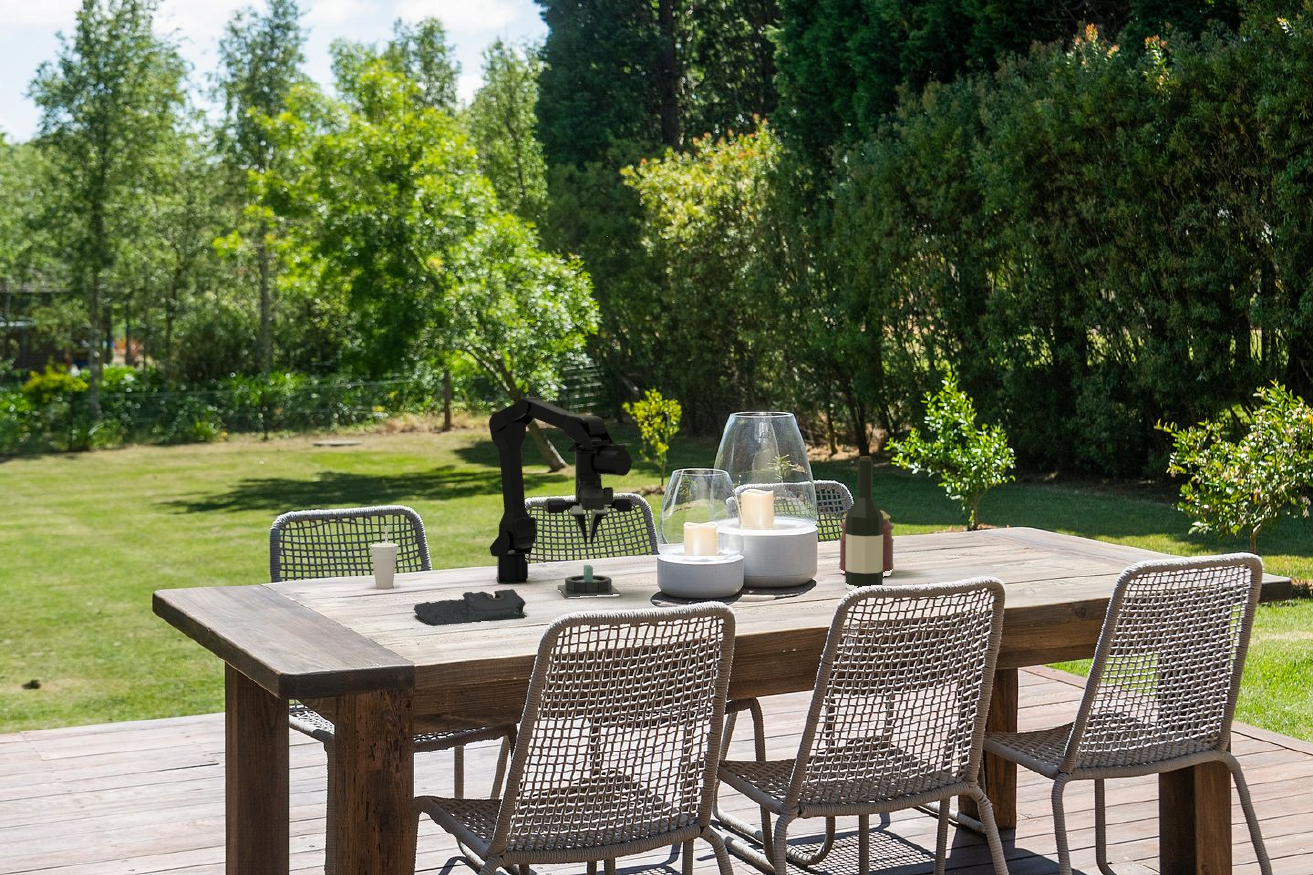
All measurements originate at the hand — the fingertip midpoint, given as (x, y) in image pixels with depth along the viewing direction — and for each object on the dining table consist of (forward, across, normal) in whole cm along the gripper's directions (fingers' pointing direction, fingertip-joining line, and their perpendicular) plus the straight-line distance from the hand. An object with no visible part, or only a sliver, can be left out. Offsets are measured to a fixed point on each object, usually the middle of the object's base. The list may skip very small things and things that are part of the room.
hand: (588, 543), depth 294 cm
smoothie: (+11, -44, +17) cm, 49 cm away
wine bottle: (+11, +62, -7) cm, 63 cm away
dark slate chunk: (+12, -28, -20) cm, 36 cm away
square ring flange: (+11, 0, 0) cm, 11 cm away
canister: (+11, +70, +12) cm, 72 cm away
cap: (+10, 0, 0) cm, 10 cm away
